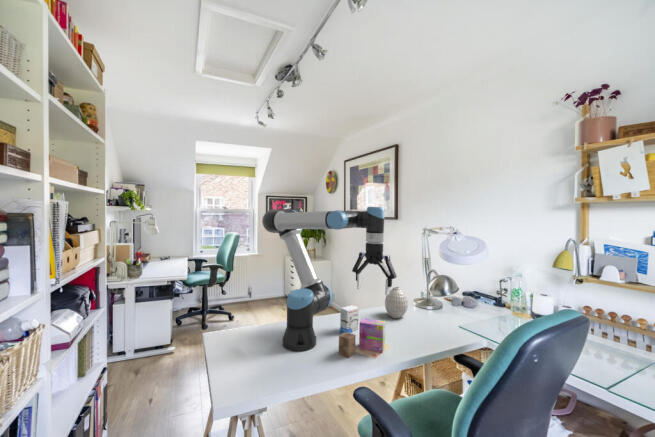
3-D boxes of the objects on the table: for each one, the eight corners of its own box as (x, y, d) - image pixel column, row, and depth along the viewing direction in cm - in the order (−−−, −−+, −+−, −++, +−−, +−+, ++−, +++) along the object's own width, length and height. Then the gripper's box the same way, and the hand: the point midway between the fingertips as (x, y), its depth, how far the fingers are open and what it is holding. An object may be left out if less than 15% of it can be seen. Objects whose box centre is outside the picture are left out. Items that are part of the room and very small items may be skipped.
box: (358, 348, 130) (359, 321, 130) (361, 343, 136) (362, 317, 135) (382, 353, 127) (383, 325, 126) (385, 347, 132) (385, 321, 131)
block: (338, 354, 125) (339, 335, 125) (345, 350, 129) (345, 331, 129) (348, 358, 122) (349, 339, 122) (355, 353, 126) (355, 335, 126)
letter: (352, 351, 128) (352, 350, 128) (369, 339, 140) (369, 338, 140) (375, 359, 122) (375, 358, 122) (391, 346, 134) (391, 345, 134)
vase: (383, 311, 178) (384, 284, 178) (406, 313, 177) (406, 285, 176) (385, 319, 166) (385, 289, 165) (408, 321, 164) (409, 291, 163)
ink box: (346, 334, 145) (347, 310, 145) (339, 331, 149) (340, 308, 148) (358, 330, 151) (359, 307, 150) (351, 327, 154) (352, 304, 154)
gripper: (345, 240, 134) (344, 287, 135) (398, 246, 119) (396, 299, 120) (354, 239, 140) (352, 284, 141) (405, 244, 125) (403, 295, 126)
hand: (372, 291), depth 130 cm, fingers open, 13 cm apart
